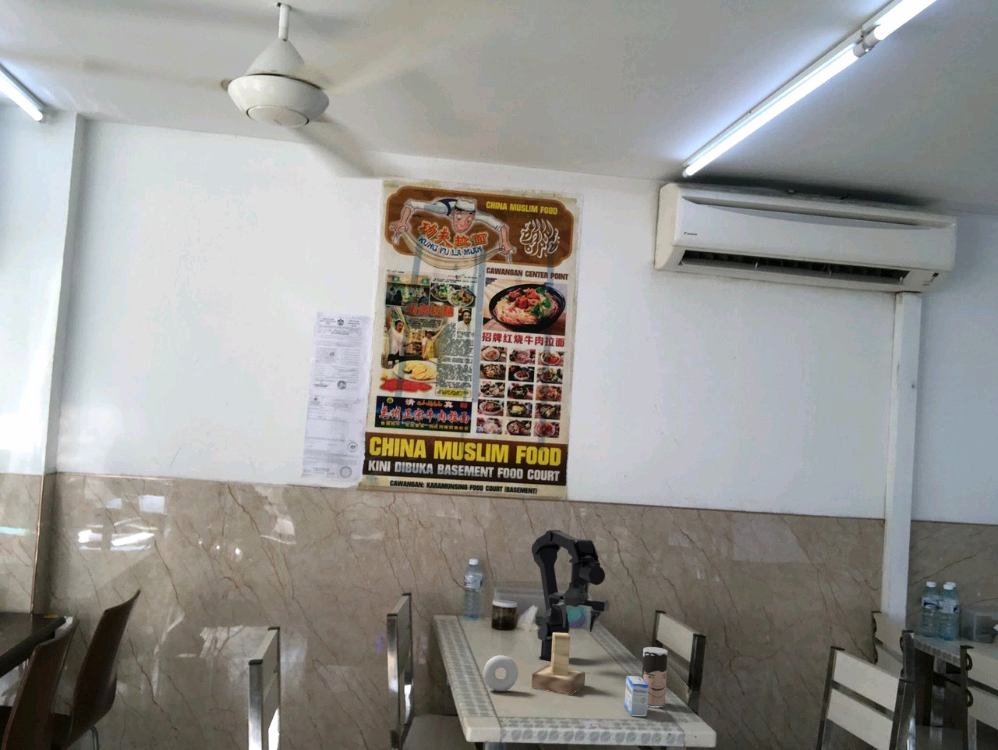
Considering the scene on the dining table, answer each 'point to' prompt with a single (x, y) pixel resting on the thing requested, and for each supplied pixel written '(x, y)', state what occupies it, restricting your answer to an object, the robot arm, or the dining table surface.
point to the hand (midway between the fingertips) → (577, 629)
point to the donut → (507, 680)
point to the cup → (655, 674)
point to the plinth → (558, 680)
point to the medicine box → (636, 695)
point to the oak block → (560, 653)
